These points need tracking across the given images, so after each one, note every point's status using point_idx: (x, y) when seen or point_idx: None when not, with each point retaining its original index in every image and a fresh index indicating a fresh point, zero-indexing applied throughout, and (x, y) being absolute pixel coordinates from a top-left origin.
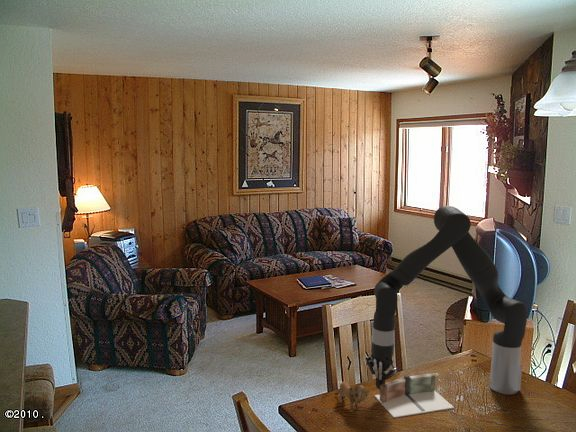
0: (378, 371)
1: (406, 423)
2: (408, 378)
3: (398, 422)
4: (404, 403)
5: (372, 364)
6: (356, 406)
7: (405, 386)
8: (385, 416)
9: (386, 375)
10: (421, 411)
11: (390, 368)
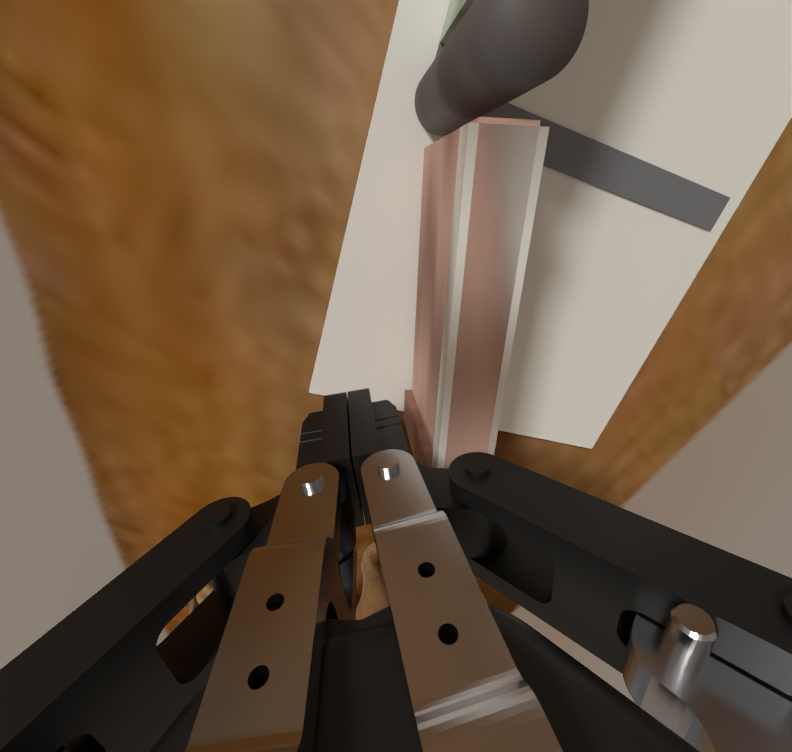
0: (351, 618)
1: (671, 417)
2: (575, 38)
3: (630, 448)
4: (545, 269)
5: (145, 713)
6: (378, 564)
7: (482, 115)
8: (541, 471)
9: (538, 599)
10: (707, 236)
11: (701, 740)
